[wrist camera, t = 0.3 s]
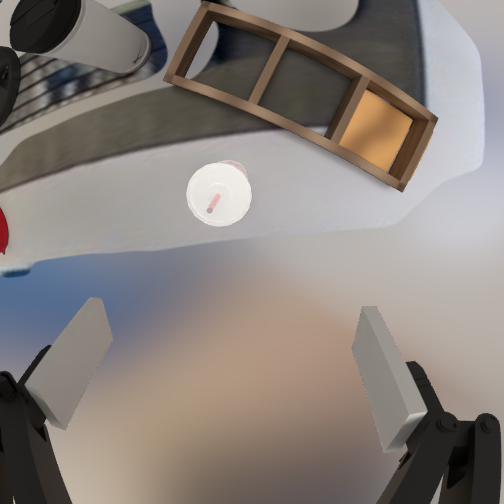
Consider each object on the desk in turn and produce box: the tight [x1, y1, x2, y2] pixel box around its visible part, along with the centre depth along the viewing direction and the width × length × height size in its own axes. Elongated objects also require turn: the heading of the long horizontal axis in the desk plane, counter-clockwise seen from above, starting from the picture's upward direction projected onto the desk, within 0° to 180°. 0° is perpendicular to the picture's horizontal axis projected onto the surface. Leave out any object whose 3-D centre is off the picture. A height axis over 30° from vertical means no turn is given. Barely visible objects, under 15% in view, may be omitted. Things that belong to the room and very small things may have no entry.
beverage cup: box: [186, 160, 252, 227], centre depth 29 cm, size 6×6×14 cm
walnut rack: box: [163, 1, 438, 193], centre depth 29 cm, size 30×10×4 cm, turn 66°
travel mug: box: [10, 0, 152, 74], centre depth 20 cm, size 6×7×20 cm
